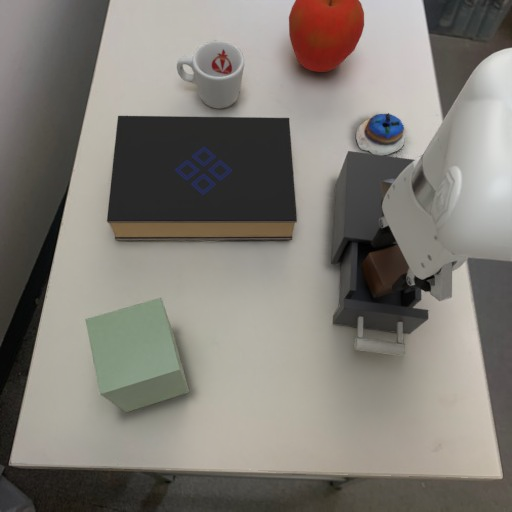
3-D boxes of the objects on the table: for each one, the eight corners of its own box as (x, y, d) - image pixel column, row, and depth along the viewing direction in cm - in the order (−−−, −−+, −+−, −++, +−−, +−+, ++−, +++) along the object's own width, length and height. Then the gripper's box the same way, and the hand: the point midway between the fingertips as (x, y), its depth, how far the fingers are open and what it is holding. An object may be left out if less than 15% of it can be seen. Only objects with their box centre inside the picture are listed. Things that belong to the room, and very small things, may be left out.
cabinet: (410, 274, 71) (433, 248, 63) (330, 263, 71) (343, 236, 63) (409, 194, 76) (430, 161, 68) (335, 184, 76) (348, 150, 68)
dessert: (402, 115, 82) (412, 111, 76) (399, 155, 83) (409, 155, 77) (354, 114, 82) (360, 111, 76) (352, 155, 83) (358, 155, 77)
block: (405, 288, 63) (417, 275, 59) (373, 298, 62) (383, 285, 58) (390, 258, 65) (401, 243, 61) (359, 267, 64) (368, 252, 60)
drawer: (409, 365, 64) (429, 353, 58) (330, 355, 64) (342, 341, 58) (408, 250, 71) (425, 228, 65) (337, 241, 71) (347, 218, 65)
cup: (172, 105, 81) (167, 68, 74) (186, 70, 84) (182, 31, 77) (236, 119, 80) (237, 83, 73) (247, 83, 84) (249, 45, 76)
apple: (292, 31, 90) (303, -44, 77) (356, 46, 89) (378, -27, 76) (275, 79, 84) (284, 8, 72) (343, 97, 84) (364, 27, 71)
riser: (189, 392, 62) (180, 369, 49) (126, 412, 61) (100, 394, 48) (173, 333, 65) (161, 297, 52) (113, 351, 64) (85, 318, 51)
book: (126, 143, 77) (117, 115, 71) (284, 145, 79) (289, 117, 73) (116, 243, 70) (106, 220, 64) (291, 242, 72) (297, 220, 66)
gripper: (544, 255, 41) (452, 320, 57) (449, 100, 47) (391, 198, 64) (465, 279, 39) (394, 339, 56) (378, 116, 46) (338, 213, 62)
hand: (393, 263), depth 60 cm, fingers open, 5 cm apart
